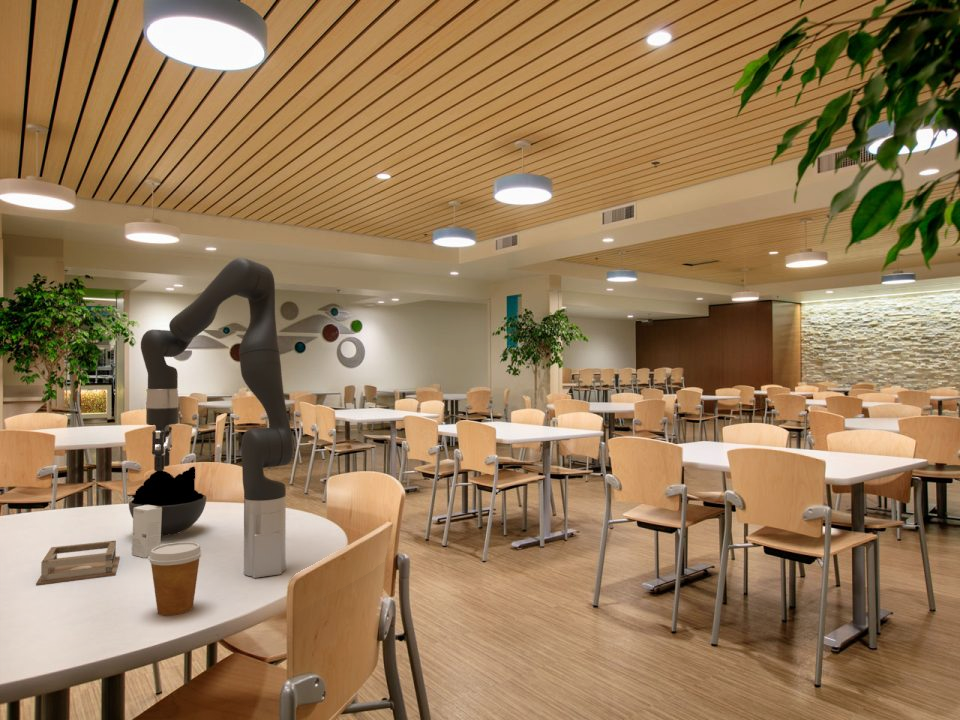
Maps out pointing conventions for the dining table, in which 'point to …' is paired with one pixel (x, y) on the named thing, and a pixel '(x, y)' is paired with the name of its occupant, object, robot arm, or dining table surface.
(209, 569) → the dining table surface
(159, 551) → the disposable coffee cup
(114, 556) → the shallow wooden tray
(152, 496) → the bowl of black rocks
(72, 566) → the walnut board
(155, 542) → the skincare box
